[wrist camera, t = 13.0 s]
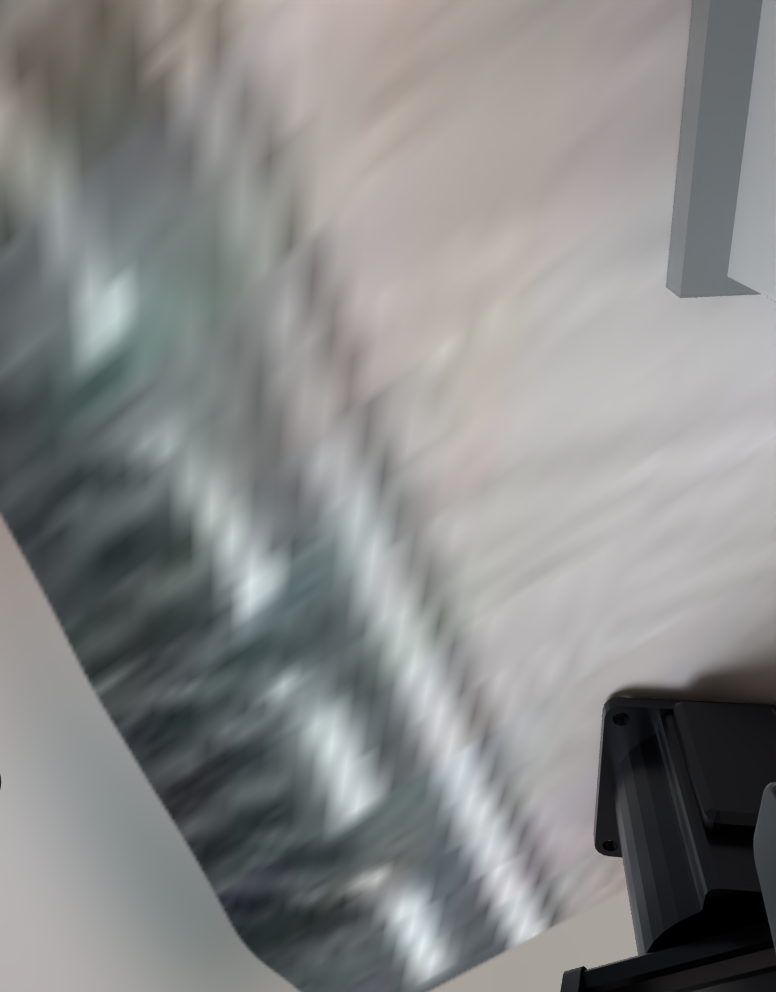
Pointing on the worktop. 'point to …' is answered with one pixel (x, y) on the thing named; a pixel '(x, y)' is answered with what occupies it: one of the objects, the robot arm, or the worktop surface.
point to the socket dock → (727, 154)
